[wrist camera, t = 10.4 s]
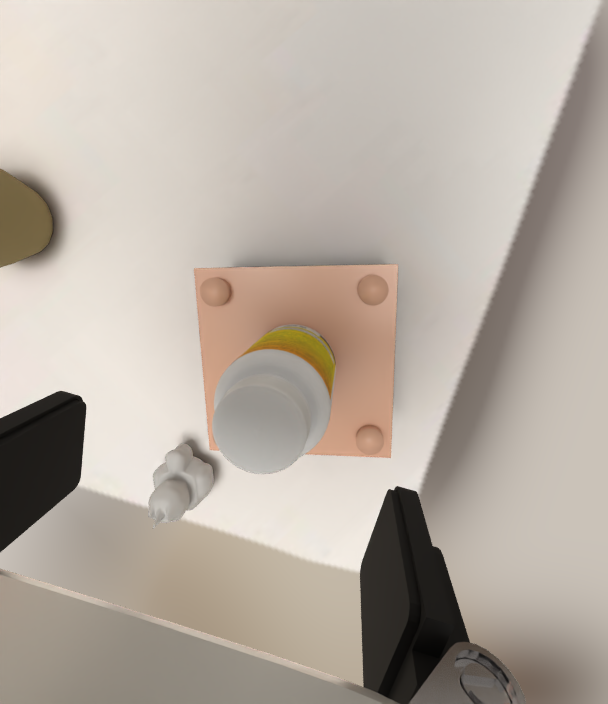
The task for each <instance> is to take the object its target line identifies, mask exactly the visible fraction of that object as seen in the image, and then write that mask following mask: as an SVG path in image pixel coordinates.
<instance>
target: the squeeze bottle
mask: <svg viewBox="0 0 608 704" xmlns="http://www.w3.org/2000/svg"><path fill="white" fill-rule="evenodd" d="M52 232H53V224H52V216H51V213H50V211H49V208H48V206H47V204H46V202H45V201H44V200H43V199H42V198H41V196H40V195H39V194H38V193H37V192H35V191H34V190H32V189H31V188H29V187H28V186H26V185H25V184H24V183H22V182H21V181H19V180H18V179H16V178H15V177H13V176H12V175H10V174H9V173H7V172H5V171H4V170H2V169H0V267H3V266H6V265H9V264H12V263H15V262H17V261H20V260H22V259H25V258H27V257H29V256H32V255H34V254H36V253H39V252H41V251H42V250H43V249H44V248H45V247H46V246H47V245H48V244H49V241H50V238H51V235H52Z"/></svg>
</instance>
